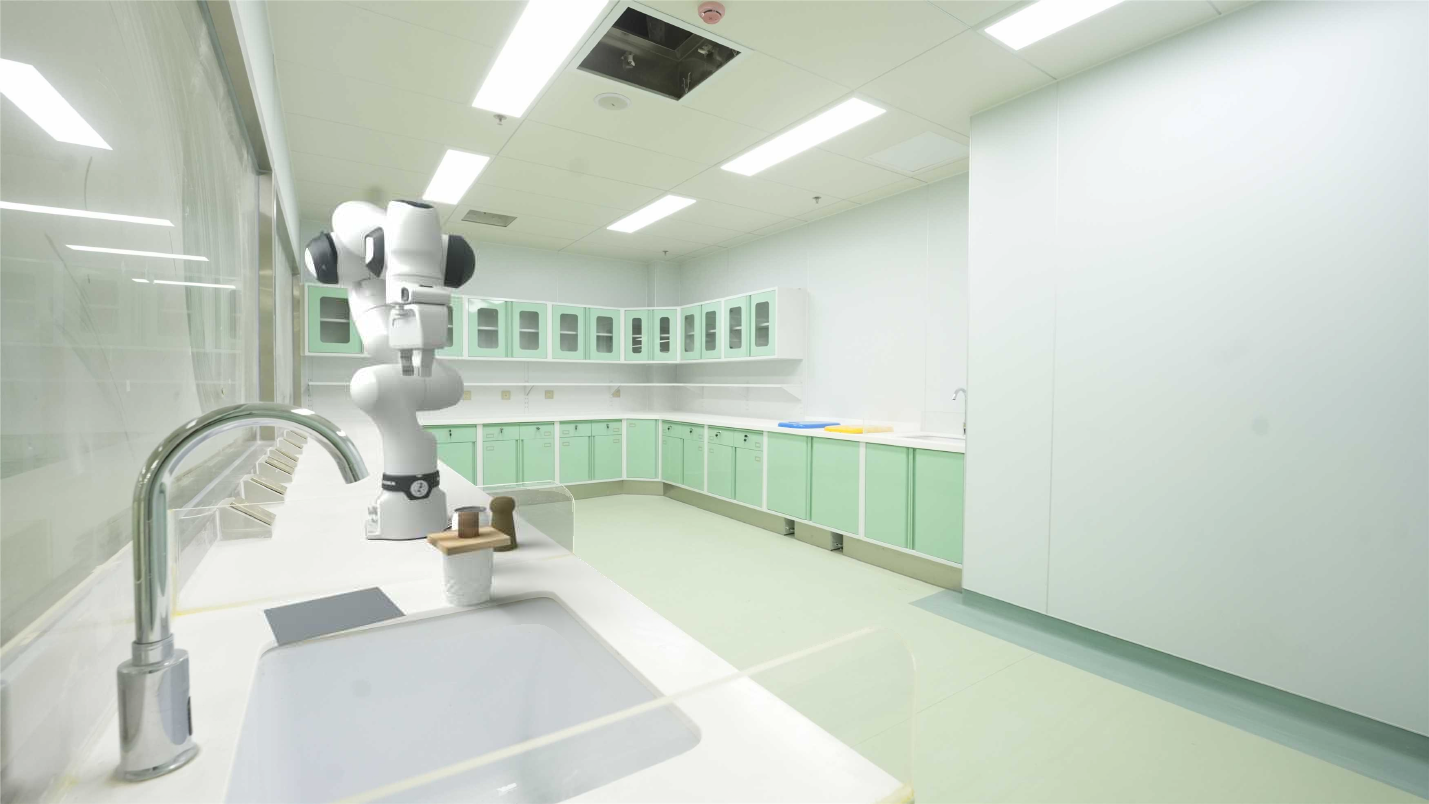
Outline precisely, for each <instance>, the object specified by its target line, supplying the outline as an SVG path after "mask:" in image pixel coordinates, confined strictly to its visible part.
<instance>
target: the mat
mask: <svg viewBox="0 0 1429 804" xmlns="http://www.w3.org/2000/svg"><path fill="white" fill-rule="evenodd" d="M263 613H264V614H265V617H266V620H267V622H268V624H269V626H270V628H271V631H272V634H273V635H274V638H275V640H276V643H277V645H278V646H279V647H280V646H284V645H288V644H293V643H297V642H301V641H302V642H303V641H305V640H309V639H313V638H317V637H322V636H325V635H330V634H334V633H339V632H344V631H347V630H351V629H356V628H359V627H363V626H367V625H372V624H377V623H380V622H384V621H388V620H392V619H397V618H401V617H404V616H405V617H406V614H405V613H404V611H402V610H401V608H399V606H397V604H395V603H394V602H393V601H392V600H391V599H390V598H389V596H387V594H385V592H384V591H383V590H382V589H381V588H379V586H374V587H368V588H363V589H358V590H355V591H354V590H353V591H349V592H344V593H340V594H336V595H334V594H333V595H330V596H324V597H320V598H315V599H311V600H305V601H301V602H296V603H292V604H287V605H285V604H284V605H281V606H276V607H270V608H267V609H263Z"/></svg>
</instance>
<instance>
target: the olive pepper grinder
mask: <svg viewBox="0 0 1429 804" xmlns="http://www.w3.org/2000/svg"><path fill="white" fill-rule="evenodd" d="M515 509H516V500H515V498H513V497H511V496H505V495H503V496H497V497H493V498H492V499H491V501H490V502H489V510H490V512H491V522H490V527H492V528H494V529H496V530H498V531H500V532H502V533H504V534H505V535H507V536H509V537H510V545H504V546H499V547H494V548H493V553H504V552H510V551H514V550H516V549H517V548H518V541H517V533H516V526H515V519H514V513H513V512H514V511H515Z"/></svg>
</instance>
